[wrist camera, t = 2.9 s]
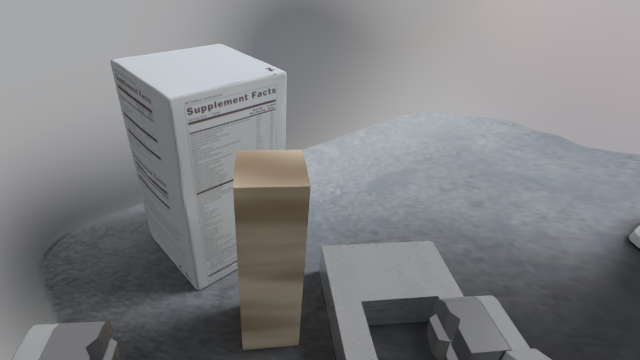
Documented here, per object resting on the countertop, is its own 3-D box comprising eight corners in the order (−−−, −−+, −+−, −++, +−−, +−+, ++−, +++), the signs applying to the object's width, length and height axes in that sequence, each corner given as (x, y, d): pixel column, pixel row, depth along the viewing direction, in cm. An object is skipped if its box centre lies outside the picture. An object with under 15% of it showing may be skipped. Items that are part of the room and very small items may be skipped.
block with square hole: (319, 270, 34) (321, 245, 32) (424, 264, 36) (432, 240, 34) (369, 537, 19) (379, 516, 17) (547, 506, 21) (571, 484, 19)
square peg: (244, 304, 30) (236, 150, 23) (294, 300, 31) (302, 149, 23) (242, 350, 27) (233, 187, 19) (298, 345, 28) (310, 186, 20)
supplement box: (232, 198, 42) (223, 41, 33) (286, 243, 37) (292, 69, 28) (146, 235, 36) (105, 56, 27) (195, 294, 31) (165, 96, 22)
